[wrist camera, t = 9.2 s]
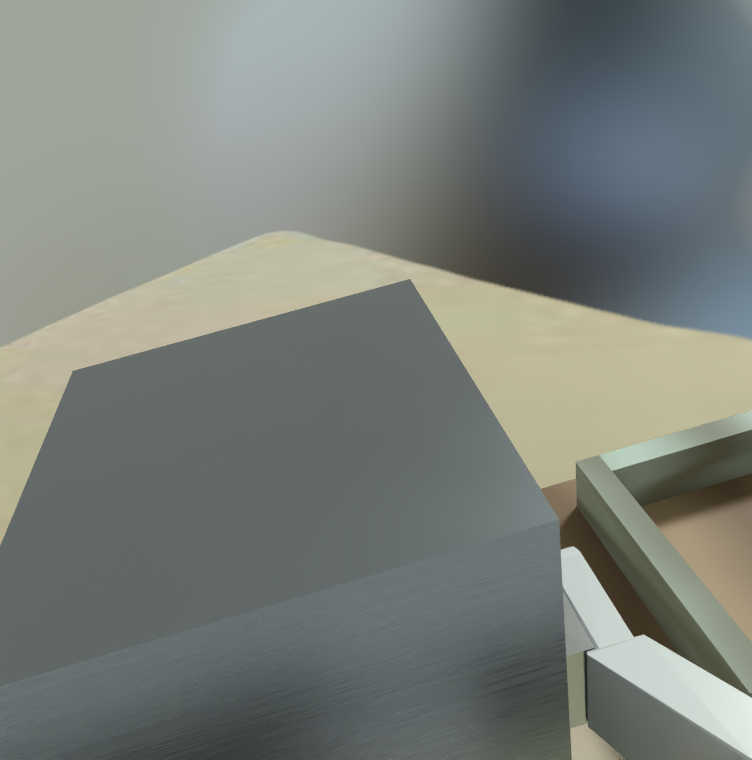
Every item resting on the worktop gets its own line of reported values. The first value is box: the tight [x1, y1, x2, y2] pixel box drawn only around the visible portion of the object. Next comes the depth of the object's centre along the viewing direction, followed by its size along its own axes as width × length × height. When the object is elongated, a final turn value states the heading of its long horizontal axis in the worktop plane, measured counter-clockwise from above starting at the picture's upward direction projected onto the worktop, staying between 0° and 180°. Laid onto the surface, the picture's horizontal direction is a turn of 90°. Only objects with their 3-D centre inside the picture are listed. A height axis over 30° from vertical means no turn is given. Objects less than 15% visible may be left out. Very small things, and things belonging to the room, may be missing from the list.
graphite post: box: [0, 279, 572, 760], centre depth 9 cm, size 4×4×11 cm
